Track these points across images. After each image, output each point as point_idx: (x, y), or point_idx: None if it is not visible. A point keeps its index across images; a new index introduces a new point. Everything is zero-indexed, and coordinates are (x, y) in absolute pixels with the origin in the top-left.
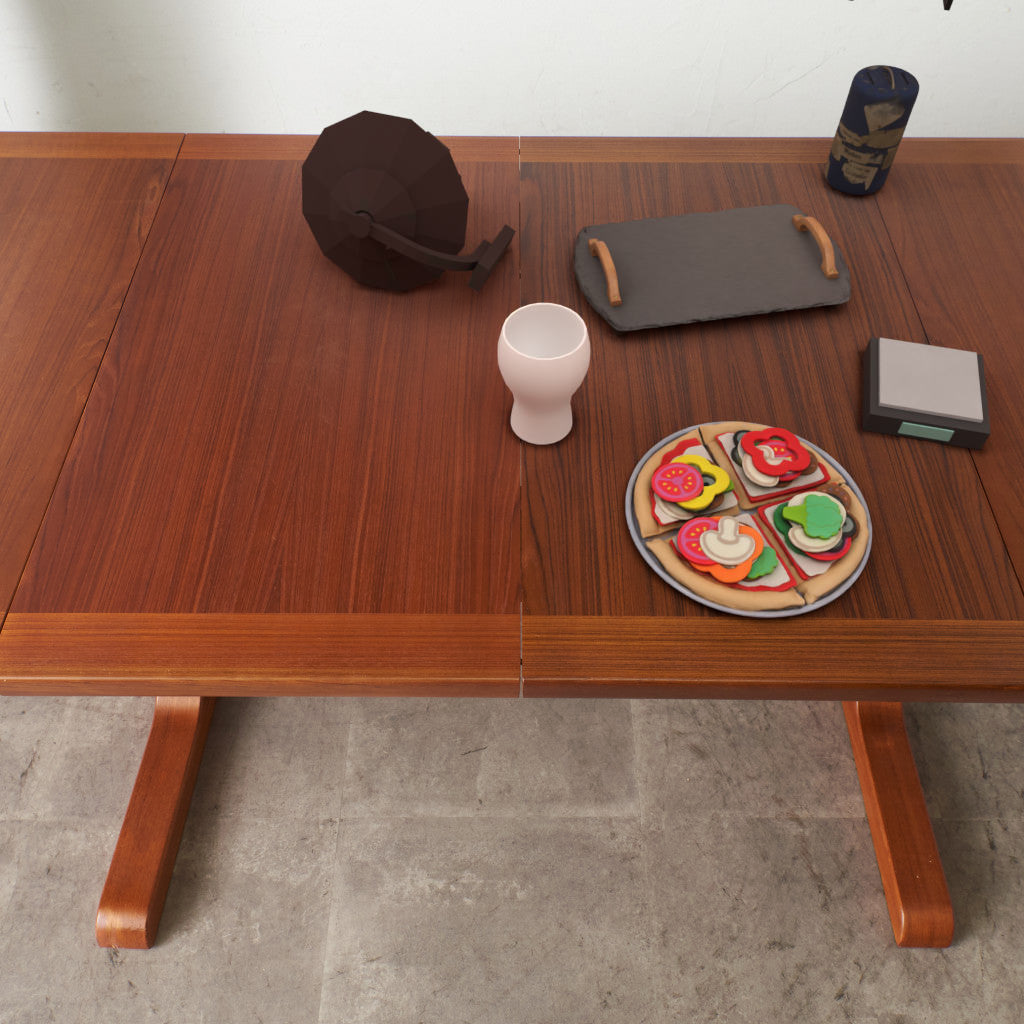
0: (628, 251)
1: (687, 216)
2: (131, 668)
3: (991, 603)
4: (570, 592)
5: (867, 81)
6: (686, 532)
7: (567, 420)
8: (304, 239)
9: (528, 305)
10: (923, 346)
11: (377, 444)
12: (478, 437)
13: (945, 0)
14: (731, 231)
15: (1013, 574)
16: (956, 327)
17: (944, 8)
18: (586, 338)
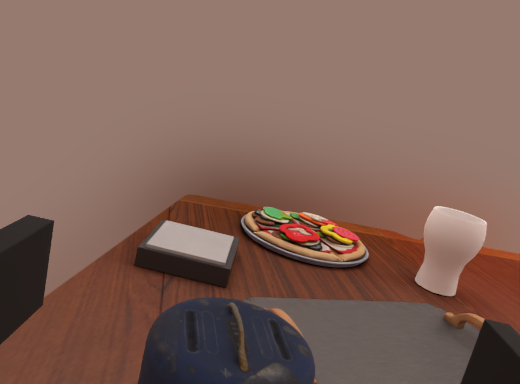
0: None
1: None
2: (499, 250)
3: (187, 204)
4: (370, 237)
5: (287, 329)
6: (333, 223)
7: (419, 270)
8: None
9: (482, 224)
10: (190, 252)
11: (507, 291)
12: (461, 286)
13: (20, 304)
14: (388, 380)
15: (170, 206)
16: (126, 293)
17: (42, 300)
18: (435, 210)
